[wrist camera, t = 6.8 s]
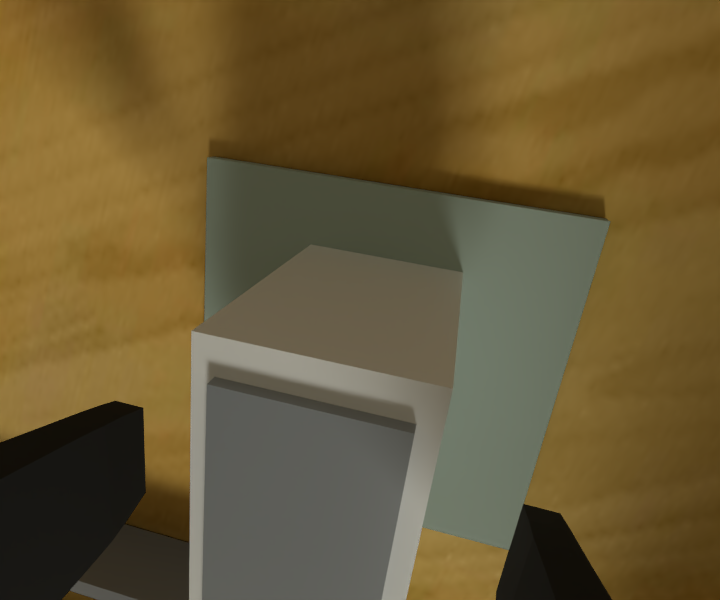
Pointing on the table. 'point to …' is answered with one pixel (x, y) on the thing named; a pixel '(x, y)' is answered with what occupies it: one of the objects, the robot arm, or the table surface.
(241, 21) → the table surface
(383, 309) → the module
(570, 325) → the rubber mat
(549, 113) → the table surface
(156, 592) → the case
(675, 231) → the table surface
